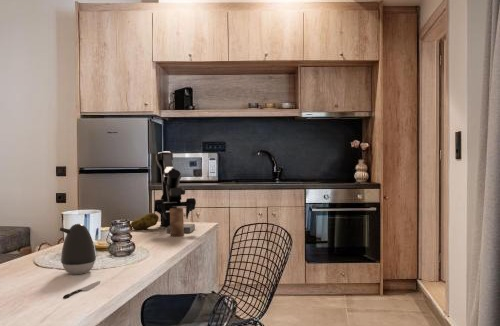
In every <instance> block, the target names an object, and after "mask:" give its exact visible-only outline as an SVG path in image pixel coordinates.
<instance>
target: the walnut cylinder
mask: <svg viewBox="0 0 500 326" xmlns="http://www.w3.org/2000/svg"><path fill="white" fill-rule="evenodd" d="M184 224H185V222H184V208H183V207H177V208H171V209H170V233H169V234H170V235H169V237H182V236H185V233H184Z"/></svg>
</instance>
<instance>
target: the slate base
mask: <svg viewBox="0 0 500 326" xmlns="http://www.w3.org/2000/svg"><path fill="white" fill-rule="evenodd" d="M195 227H196V225H195V223H184V234H187V233H188V234H191V233H192V232H193V231H195V230H196V229H195ZM166 233H169V234H170V226H166Z"/></svg>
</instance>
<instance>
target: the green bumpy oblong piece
mask: <svg viewBox="0 0 500 326" xmlns="http://www.w3.org/2000/svg"><path fill="white" fill-rule="evenodd" d="M158 221H159V215H158V214H156V212H155V213H154V212H149V213H148V212H147V213H146V214H144V215H143V216H141V217H139V218H136V219H134V220H132V221H131V223H130V226H131V225H132V227H133V228H132V230H148V229H150V228H151V227H154V226H156V225H157V224H158Z"/></svg>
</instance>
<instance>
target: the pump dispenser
mask: <svg viewBox="0 0 500 326" xmlns="http://www.w3.org/2000/svg"><path fill="white" fill-rule="evenodd" d="M59 231H60V232H63V233H65V238H64V240H63V244H62V248H61V258H60V263H61V264H62V267H63V269H64V270H65V272H67V273H68V274H71V275H83V274H86V273H89V272H90V271H91V270H92V269H93V267H94V265H95V262H96V259H97V257H96V256H97V255H96V249H95V243H94V241H93V238H92V235H91V234H90V232H89V229H88V228H87V227H86V225H84V224H83V223H82V224H81V223H76V224H72V225H71V227H70V228H67V227H61V226H60V227H59Z"/></svg>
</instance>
